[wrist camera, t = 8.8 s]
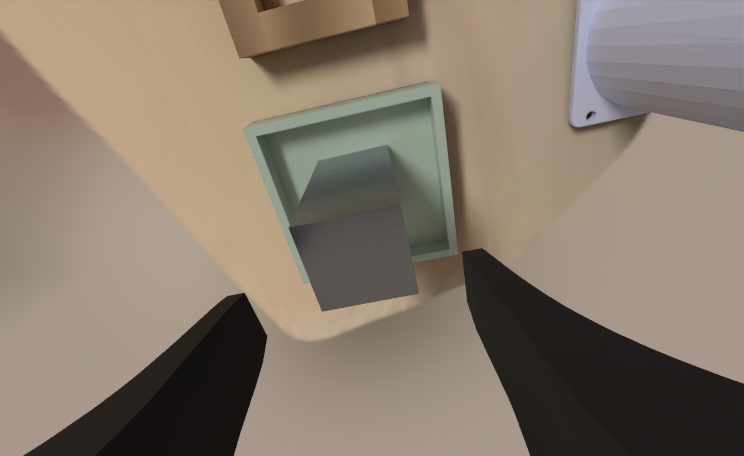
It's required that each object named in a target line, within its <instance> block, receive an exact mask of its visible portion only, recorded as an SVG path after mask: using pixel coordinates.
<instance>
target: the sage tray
mask: <svg viewBox="0 0 744 456" xmlns="http://www.w3.org/2000/svg"><path fill="white" fill-rule="evenodd" d="M243 131H244V133H245V136H246V138H247V141H248V143H249V146H250V148H251V151H252V153H253V156H254V158H255V161H256V163H257V166H258V168H259V171H260V173H261V176H262V178H263V181H264V183H265V186H266V189H267V191H268V194H269V196H270V199H271V201H272V204H273V206H274V209H275V211H276V214H277V216H278V219H279V221H280V224H281V226H282V229H283V231H284V234H285V236H286V239H287V242H288V244H289V247H290V249H291V252H292V254H293V257H294V259H295V262H296V264H297V267H298V269H299V272H300V274H301V277H302V279H303V282H304V283H308V282H310V280H309V278H308V275H307V273H306V270H305V268H304V265H303V263H302V260H301V258H300V255H299V253H298V250H297V248H296V245H295V243H294V240H293V238H292V236H291V233H290V231H289V225H290V223H291V221H292V219H293V216H294V214H295V212H296V210H297V207H298V205H299V203H300V201H301V198H302V196H303V194H304V192H305V189H306V187H307V185H308V183H309V180H310V178H311V176H312V174H313V171H314V169H315V167H316V165H317V162H318V161H319V160H323V159H328V158H332V157H336V156H341V155H345V154H349V153H353V152H358V151H362V150H366V149H371V148H375V147H379V146H383V145H387V146H388V150H389V155H390V160H391V164H392V169H393V173H394V178H395V182H396V187H397V191H398V196H399V200H400V205H401V210H402V214H403V219H404V224H405V229H406V234H407V239H408V243H409V248H410V253H411V258H412V263H416V262H422V261H427V260H432V259H438V258H443V257H449V256H454V255H458V247H457V237H456V227H455V218H454V208H453V199H452V189H451V180H450V170H449V160H448V151H447V141H446V132H445V122H444V113H443V103H442V93H441V84H440V83H439V82H437V81H434V80H432V81H428V82H423V83H419V84H415V85H410V86H406V87H402V88H398V89H393V90H389V91H385V92H380V93H376V94H372V95H368V96H363V97H359V98H355V99H350V100H346V101H342V102H337V103H333V104H329V105H325V106H320V107H316V108H312V109H307V110H303V111H299V112H295V113H290V114H286V115H282V116H277V117H273V118H269V119H265V120H260V121H256V122H253V123H251V124H250V125H248V126H247V127H245V128H243Z"/></svg>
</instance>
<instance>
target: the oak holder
mask: <svg viewBox="0 0 744 456" xmlns="http://www.w3.org/2000/svg"><path fill="white" fill-rule="evenodd" d="M219 3H220V6H221V8H222V11H223V14H224V17H225V19H226V22H227V25H228V28H229V30H230V33H231V36H232V39H233V41H234V44H235V47H236V50H237V52H238V55H239V58H251V57H255V56H259V55H263V54H267V53H271V52H275V51H279V50H283V49H287V48H291V47H295V46H299V45H303V44H307V43H311V42H315V41H319V40H323V39H327V38H331V37H335V36H339V35H343V34H347V33H350V32H354V31H358V30H362V29H366V28H370V27H374V26H378V25H382V24H386V23H390V22H394V21H398V20H402V19H406V18H407V17H408V16H409V11H408V4H407V0H304V1H301V2H297V3H293V4H289V5H285V6H282V7H278V8H274V9H270V10H265V7H264V4H263V1H262V0H219Z"/></svg>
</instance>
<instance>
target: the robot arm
mask: <svg viewBox="0 0 744 456" xmlns="http://www.w3.org/2000/svg"><path fill="white" fill-rule="evenodd" d="M589 112H592V115H591V117H590V118H589V119H587V120H586V116H587V114H588V113H589ZM650 112H654V113H658V114H663V115H668V116H673V117H677V118H682V119H687V120H691V121H696V122H701V123H705V124H710V125H715V126H720V127H724V128H729V129H734V130H739V131H744V0H577V8H576V22H575V36H574V50H573V64H572V78H571V91H570V105H569V123H570V125H572V126H574V127H584V126H589V125H594V124H598V123H603V122H608V121H613V120H617V119H622V118H627V117H631V116H636V115H641V114H646V113H650ZM462 255H463V265H464V275H465V285H466V294H467V302H468V305H469V309H470V311H471V314H472V318H473V321H474V323H475V326H476V330H477V332H478V334H479V336H480V338H481V341H482V343H483V345H484V347H485V349H486V351H487V354H488V356H489V358H490V360H491V362H492V364H493V366H494V368H495V370H496V373H497V375H498V377H499V379H500V381H501V383H502V385H503V388H504V390H505V392H506V394H507V396H508V398H509V401H510V403H511V405H512V408H513V410H514V412H515V415H516V418H517V420H518V423H519V426H520V429H521V432H522V434H523V437H524V440H525V442H526V445H527V448H528V451H529V453H530V456H744V384H743V383H740V382H737V381H734V380H731V379H729V378H725V377H723V376H720V375H718V374H715V373H712V372H709V371H707V370H704V369H702V368H699V367H696V366H694V365H691V364H688V363H686V362H683V361H681V360H678V359H675V358H673V357H670V356H668V355H666V354H663V353H661V352H658V351H656V350H654V349H651V348H649V347H646V346H644V345H642V344H640V343H638V342H635V341H633V340H631V339H629V338H627V337H624V336H622V335H620V334H617V333H615V332H613V331H611V330H609V329H607V328H605V327H603V326H601V325H599V324H597V323H595V322H594V321H592V320H590V319H588V318H586V317H584V316H582V315H580V314H578V313H576V312H574V311H573V310H571V309H569V308H567V307H565V306H564V305H562V304H561V303H559V302H557V301H556V300H554V299H552V298H551V297H549V296H548V295H546V294H544V293H543V292H541V291H540V290H538V289H537V288H535V287H534V286H532V285H531V284H530V283H528V282H526V281H525V280H524V279H522V278H521V277H519V276H518V275H517V274H515V273H514V272H513V271H511V270H510V269H509V268H507V267H506V266H505V265H503V264H502V263H501V262H499V261H498V260H497V259H496V258H494V257H493V256H492V255H490V254H489V253H488V252H486V251H485V250H484V249H482V248H481V249H475V250H470V251H465V252H462ZM266 341H267V335H266V333H265V331H264V329H263V327H262V325H261V323H260V321H259V320H258V318H257V316H256V314H255V312H254V310H253V308H252V306H251V304H250V302H249V300H248V298H247V296H246V295H245V293H241V294H235V295H231V296H227V297H226V298H224V299H223V300H222V301H220V302H219V303H218V304H217V305H216V306H214V307H213V308H212V309H211V310H210V311H209V312H208V313H207V314H206V315H204V316H203V317H202V318H201V319H200V320H199V321H198V322H197V323H196V324H195V325H194V326H192V327H191V328H190V329H189V330H188V331H187V332H186V333H185V334H184V335H182V336H181V337H180V338H179V339H178V340H177V341H176V342H175V343H174V344H173V345H171V346H170V347H169V348H168V349H167V350H166V351H165V352H164V353H162V354H161V355H160V356H159V357H158V358H156V359H155V360H154V361H153V362H152V363H151V364H150V365H148V366H147V367H146V368H145V369H144V370H143V371H141V372H140V373H139V374H138V375H136V376H135V377H134V378H133V379H132V380H130V381H129V382H128V383H127V384H125V385H124V386H123V387H122V388H120V389H119V390H118V391H116V392H115V393H114V394H112V395H111V396H110V397H108V398H107V399H106V400H104V401H103V402H102V403H100V404H99V405H98V406H96V407H95V408H94V409H92V410H91V411H89V412H88V413H86V414H85V415H83V416H82V417H81V418H79V419H78V420H77V421H75V422H73V423H72V424H70V425H69V426H67V427H66V428H65V429H63V430H62V431H60V432H59V433H57V434H56V435H55V436H53V437H52V438H50V439H49V440H47V441H46V442H44V443H43V444H41V445H39V446H38V447H36V448H35V449H33V450H32V451H30V452H28V453H27V454H25V455H24V456H234V453H235V449H236V446H237V442H238V439H239V436H240V432H241V429H242V426H243V423H244V420H245V417H246V414H247V411H248V408H249V405H250V401H251V398H252V396H253V393H254V390H255V387H256V383H257V380H258V377H259V374H260V371H261V367H262V363H263V358H264V353H265V347H266Z"/></svg>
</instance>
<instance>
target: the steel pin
mask: <svg viewBox="0 0 744 456" xmlns="http://www.w3.org/2000/svg"><path fill="white" fill-rule="evenodd" d="M289 231H290V233H291V236H292V238H293V240H294V243H295V245H296V248H297V250H298V253H299V255H300V258H301V260H302V263H303V265H304V268H305V270H306V273H307V275H308V278H309V280H310V283H311V285H312V288H313V290H314V293H315V295H316V298H317V300H318V303H319V305H320V307H321V310H322V311H328V310H333V309H338V308H344V307H349V306H354V305H360V304H365V303H371V302H376V301H381V300H387V299H392V298H397V297H403V296H408V295H413V294H419V292H418V287H417V282H416V277H415V273H414V268H413V263H412V258H411V253H410V248H409V243H408V239H407V234H406V229H405V224H404V219H403V214H402V210H401V205H400V200H399V196H398V191H397V187H396V182H395V178H394V173H393V169H392V164H391V160H390V155H389V150H388V146H387V145H383V146H379V147H375V148H371V149H366V150H362V151H358V152H353V153H349V154H345V155H341V156H336V157H332V158H328V159H323V160H319V161H318V162H317V165H316V167H315V169H314V171H313V174H312V176H311V178H310V180H309V183H308V185H307V187H306V189H305V192H304V194H303V196H302V198H301V201H300V203H299V205H298V207H297V210H296V212H295V214H294V216H293V219H292V221H291V223H290V225H289Z"/></svg>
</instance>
